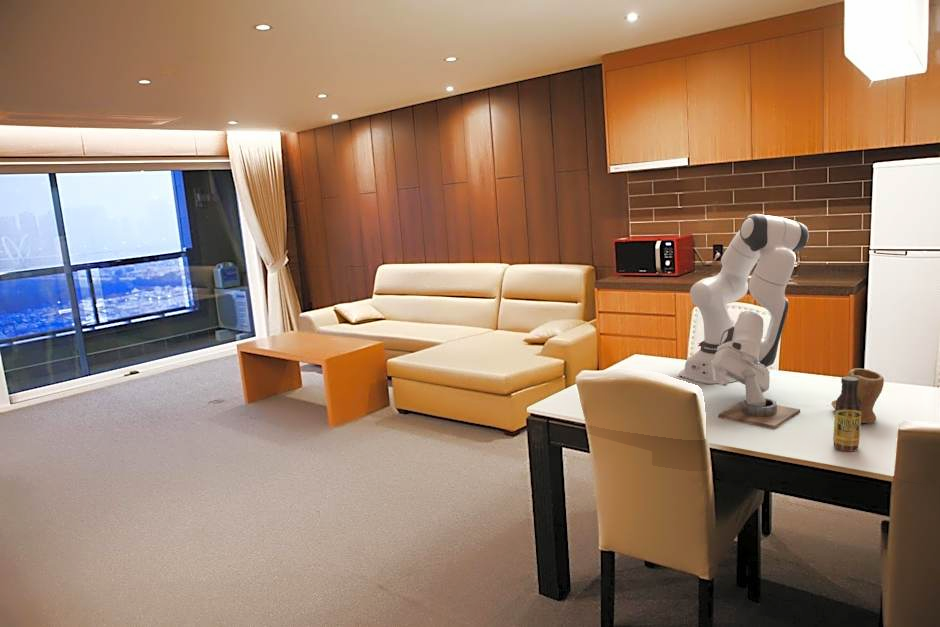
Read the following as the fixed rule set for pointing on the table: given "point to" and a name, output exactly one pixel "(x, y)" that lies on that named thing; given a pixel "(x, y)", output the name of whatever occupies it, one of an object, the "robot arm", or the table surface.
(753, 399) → the salt shaker
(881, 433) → the table surface
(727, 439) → the table surface
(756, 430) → the table surface
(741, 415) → the keeper plate
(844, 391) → the sauce bottle
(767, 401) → the keeper collar
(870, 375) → the stone cup
